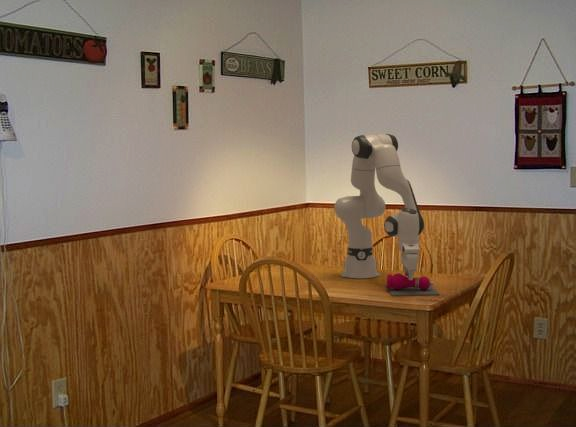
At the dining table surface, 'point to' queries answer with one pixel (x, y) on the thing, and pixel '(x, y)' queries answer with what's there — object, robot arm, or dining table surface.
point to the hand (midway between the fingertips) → (408, 277)
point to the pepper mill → (407, 282)
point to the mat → (412, 291)
